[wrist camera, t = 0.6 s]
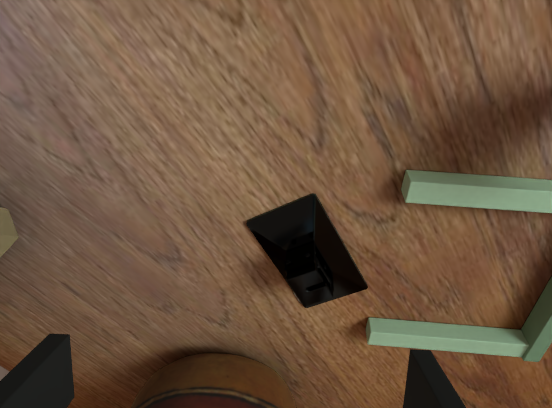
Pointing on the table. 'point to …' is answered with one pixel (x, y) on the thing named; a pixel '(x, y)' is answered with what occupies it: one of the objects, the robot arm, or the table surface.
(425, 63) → the table surface
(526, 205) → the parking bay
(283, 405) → the ceramic pitcher
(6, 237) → the tan faceted lump
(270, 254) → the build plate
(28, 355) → the robot arm
